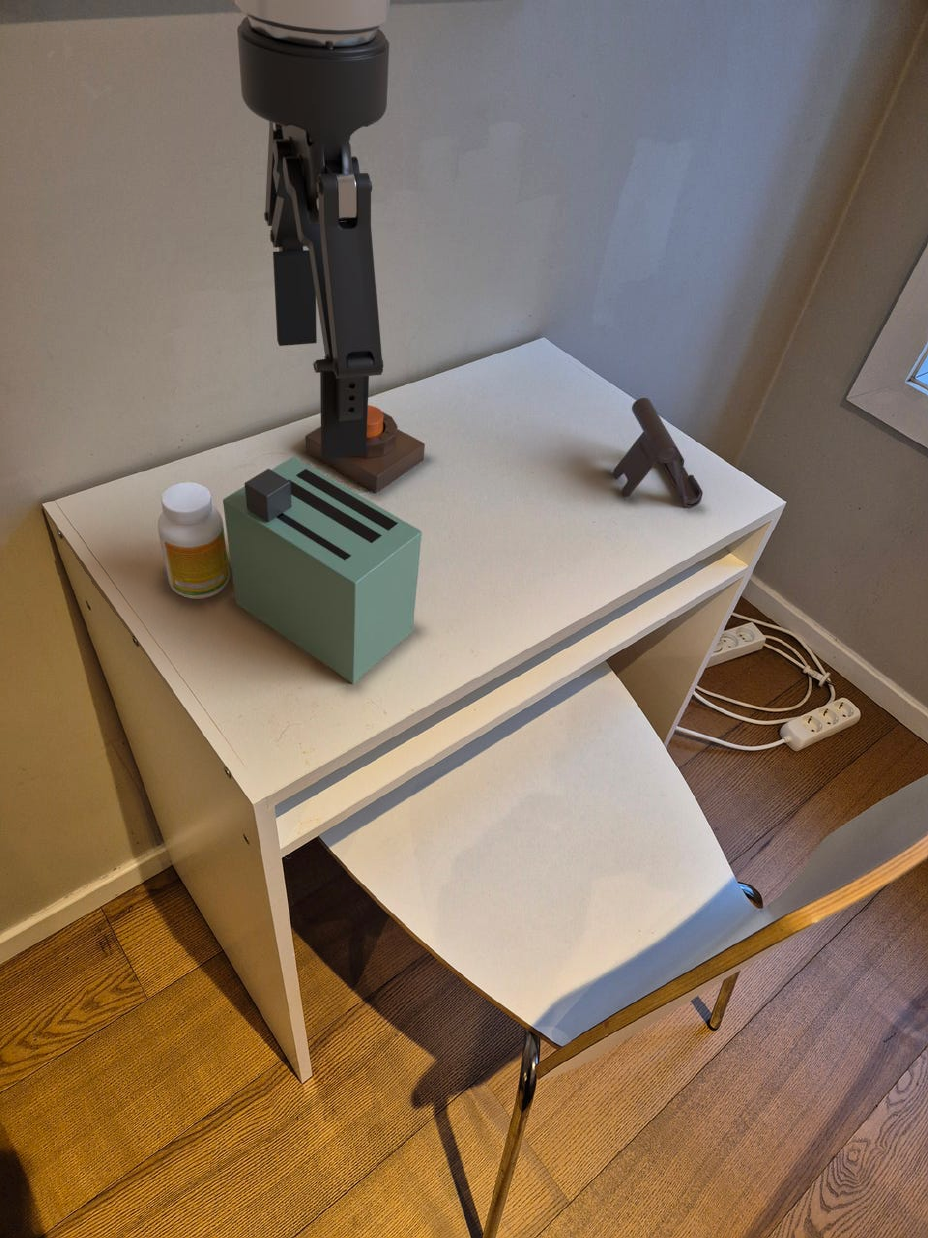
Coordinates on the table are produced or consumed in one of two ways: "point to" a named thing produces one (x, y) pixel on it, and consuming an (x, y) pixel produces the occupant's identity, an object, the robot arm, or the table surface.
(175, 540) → the supplement bottle
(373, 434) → the button
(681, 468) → the tablet stand
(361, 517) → the toaster
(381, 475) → the button block
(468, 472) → the table surface
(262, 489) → the slider
